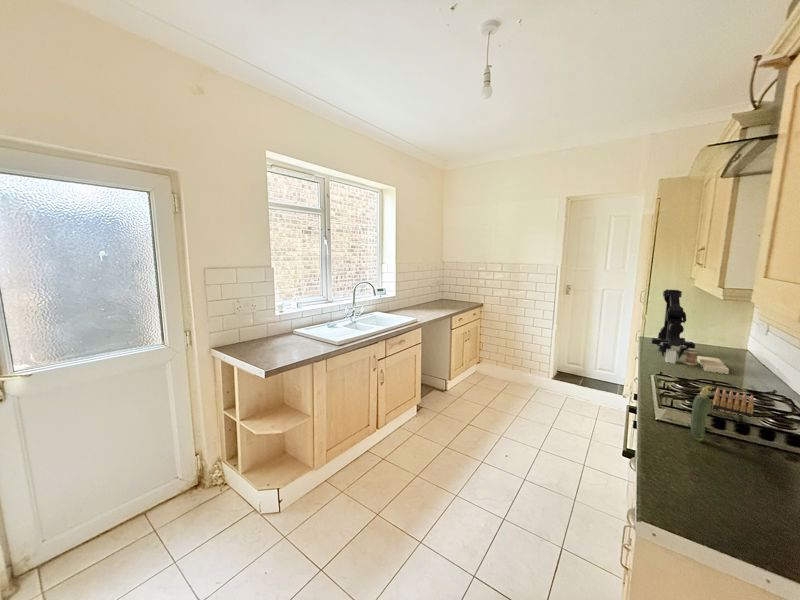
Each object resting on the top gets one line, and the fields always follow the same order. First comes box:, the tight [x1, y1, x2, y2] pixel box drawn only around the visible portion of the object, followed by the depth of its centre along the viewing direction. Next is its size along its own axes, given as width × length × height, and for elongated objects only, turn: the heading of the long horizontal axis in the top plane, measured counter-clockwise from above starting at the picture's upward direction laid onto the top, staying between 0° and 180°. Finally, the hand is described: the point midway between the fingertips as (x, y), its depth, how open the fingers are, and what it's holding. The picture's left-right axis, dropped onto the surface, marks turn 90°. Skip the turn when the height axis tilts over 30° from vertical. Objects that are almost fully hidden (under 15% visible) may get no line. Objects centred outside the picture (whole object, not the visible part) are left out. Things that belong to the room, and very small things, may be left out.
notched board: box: [696, 355, 730, 375], centre depth 176 cm, size 20×9×3 cm, turn 146°
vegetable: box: [690, 385, 713, 442], centre depth 108 cm, size 4×4×20 cm
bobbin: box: [682, 348, 700, 366], centre depth 181 cm, size 6×6×8 cm
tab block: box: [664, 348, 677, 364], centre depth 184 cm, size 4×4×7 cm
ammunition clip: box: [711, 387, 755, 418], centre depth 120 cm, size 11×2×12 cm, turn 44°
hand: (670, 357), depth 184 cm, fingers open, 7 cm apart
